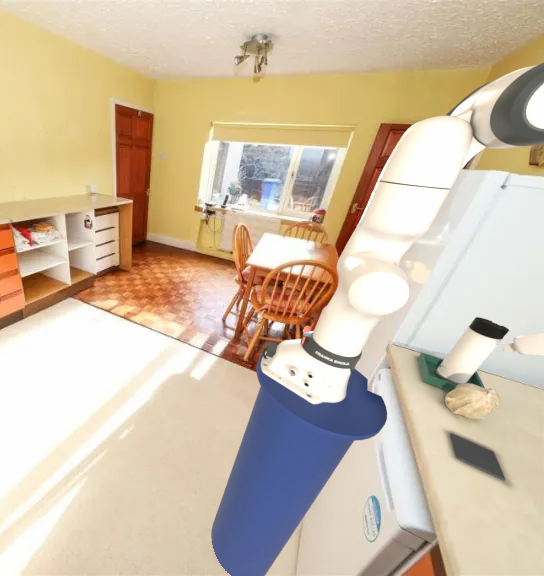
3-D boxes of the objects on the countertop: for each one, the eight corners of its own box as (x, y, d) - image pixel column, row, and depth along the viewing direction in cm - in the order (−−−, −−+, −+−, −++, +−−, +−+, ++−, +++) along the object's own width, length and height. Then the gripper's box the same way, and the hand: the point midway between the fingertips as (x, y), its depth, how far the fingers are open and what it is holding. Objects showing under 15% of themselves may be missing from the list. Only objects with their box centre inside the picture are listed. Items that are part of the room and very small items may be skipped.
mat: (456, 458, 57) (458, 457, 57) (449, 434, 62) (450, 432, 62) (504, 480, 54) (505, 479, 53) (492, 453, 59) (493, 451, 58)
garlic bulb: (465, 414, 70) (502, 390, 66) (484, 437, 63) (526, 411, 59) (427, 390, 73) (460, 366, 69) (441, 409, 66) (479, 383, 62)
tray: (423, 381, 77) (427, 375, 76) (417, 358, 86) (421, 352, 85) (484, 405, 71) (490, 398, 70) (471, 377, 80) (476, 371, 79)
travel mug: (429, 372, 80) (469, 316, 71) (443, 368, 82) (484, 313, 73) (454, 388, 75) (502, 330, 65) (469, 384, 77) (517, 327, 67)
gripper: (662, 327, 52) (556, 336, 65) (570, 324, 50) (480, 334, 64) (681, 361, 50) (567, 363, 63) (586, 359, 49) (489, 361, 62)
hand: (523, 348), depth 63 cm, fingers open, 8 cm apart
